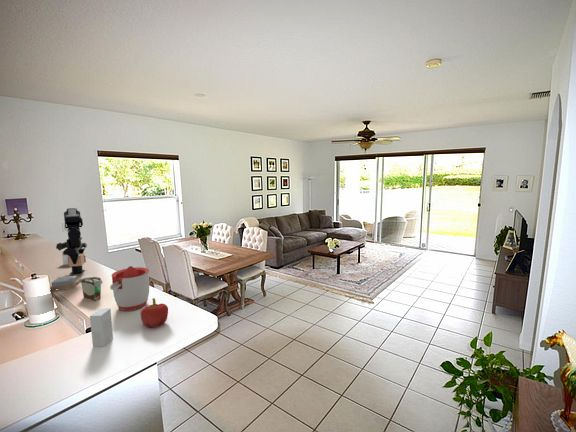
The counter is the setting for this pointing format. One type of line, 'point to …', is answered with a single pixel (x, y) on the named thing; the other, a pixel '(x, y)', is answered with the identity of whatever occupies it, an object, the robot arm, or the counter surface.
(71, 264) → the terracotta block
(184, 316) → the counter surface
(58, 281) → the grey slab
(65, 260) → the small box
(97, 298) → the food container
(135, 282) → the citrus juicer
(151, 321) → the vegetable
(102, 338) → the skincare box
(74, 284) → the walnut slab
